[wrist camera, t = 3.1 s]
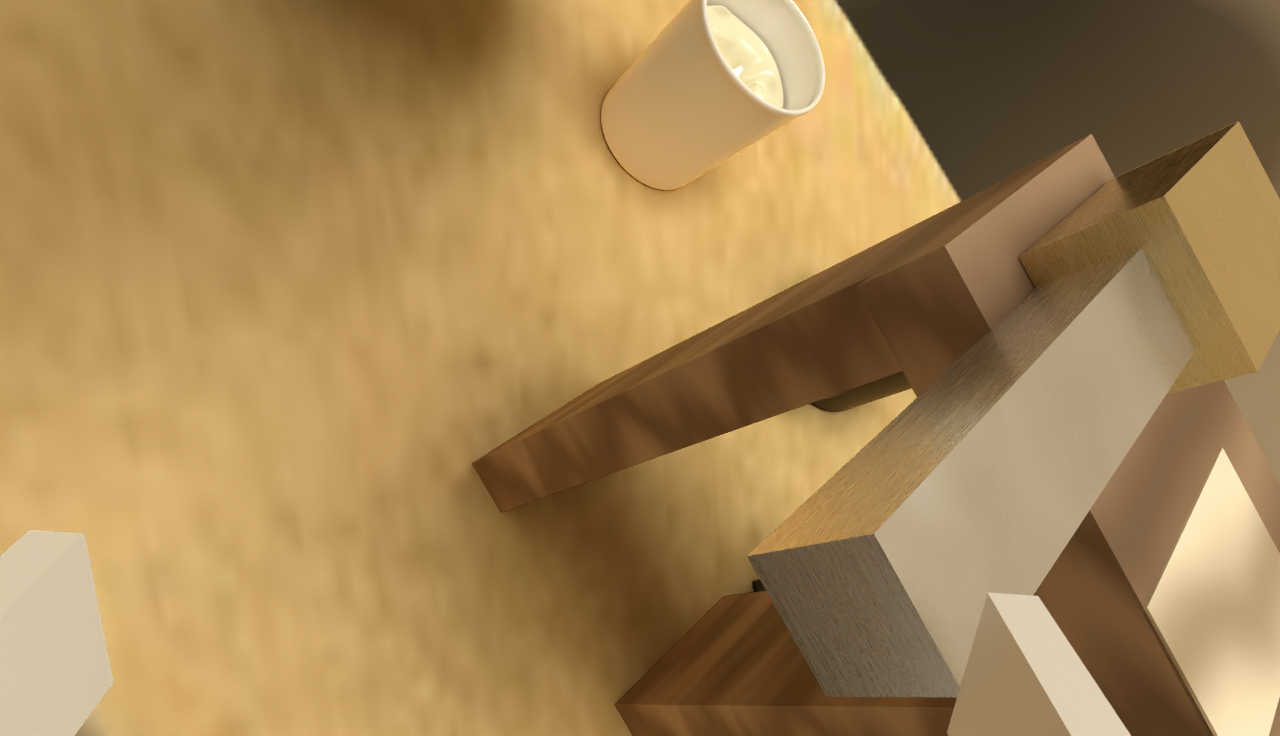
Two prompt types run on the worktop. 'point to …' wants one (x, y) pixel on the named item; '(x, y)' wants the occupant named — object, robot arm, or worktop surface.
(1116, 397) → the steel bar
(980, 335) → the walnut shelf
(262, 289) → the worktop surface
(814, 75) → the candle holder
